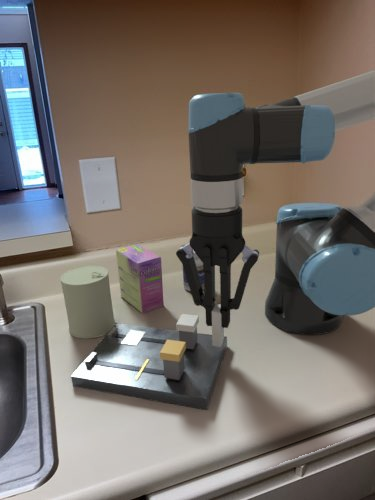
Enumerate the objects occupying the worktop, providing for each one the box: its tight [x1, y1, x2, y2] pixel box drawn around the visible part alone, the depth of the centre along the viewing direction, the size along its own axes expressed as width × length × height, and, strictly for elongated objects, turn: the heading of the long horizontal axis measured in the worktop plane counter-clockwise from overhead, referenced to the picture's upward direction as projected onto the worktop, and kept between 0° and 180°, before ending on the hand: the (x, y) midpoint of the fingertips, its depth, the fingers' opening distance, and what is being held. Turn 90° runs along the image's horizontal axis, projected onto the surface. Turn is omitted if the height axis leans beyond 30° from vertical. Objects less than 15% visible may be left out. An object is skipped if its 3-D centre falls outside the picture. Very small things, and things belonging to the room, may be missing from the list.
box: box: [115, 244, 165, 314], centre depth 85 cm, size 10×6×12 cm, turn 35°
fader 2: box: [175, 313, 200, 349], centre depth 66 cm, size 3×3×5 cm
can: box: [59, 265, 116, 340], centre depth 76 cm, size 9×9×12 cm
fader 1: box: [160, 340, 186, 380], centre depth 59 cm, size 3×3×5 cm
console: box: [70, 322, 228, 411], centre depth 65 cm, size 22×16×3 cm
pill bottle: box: [182, 250, 204, 292], centre depth 91 cm, size 5×5×10 cm
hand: (218, 341), depth 65 cm, fingers closed
